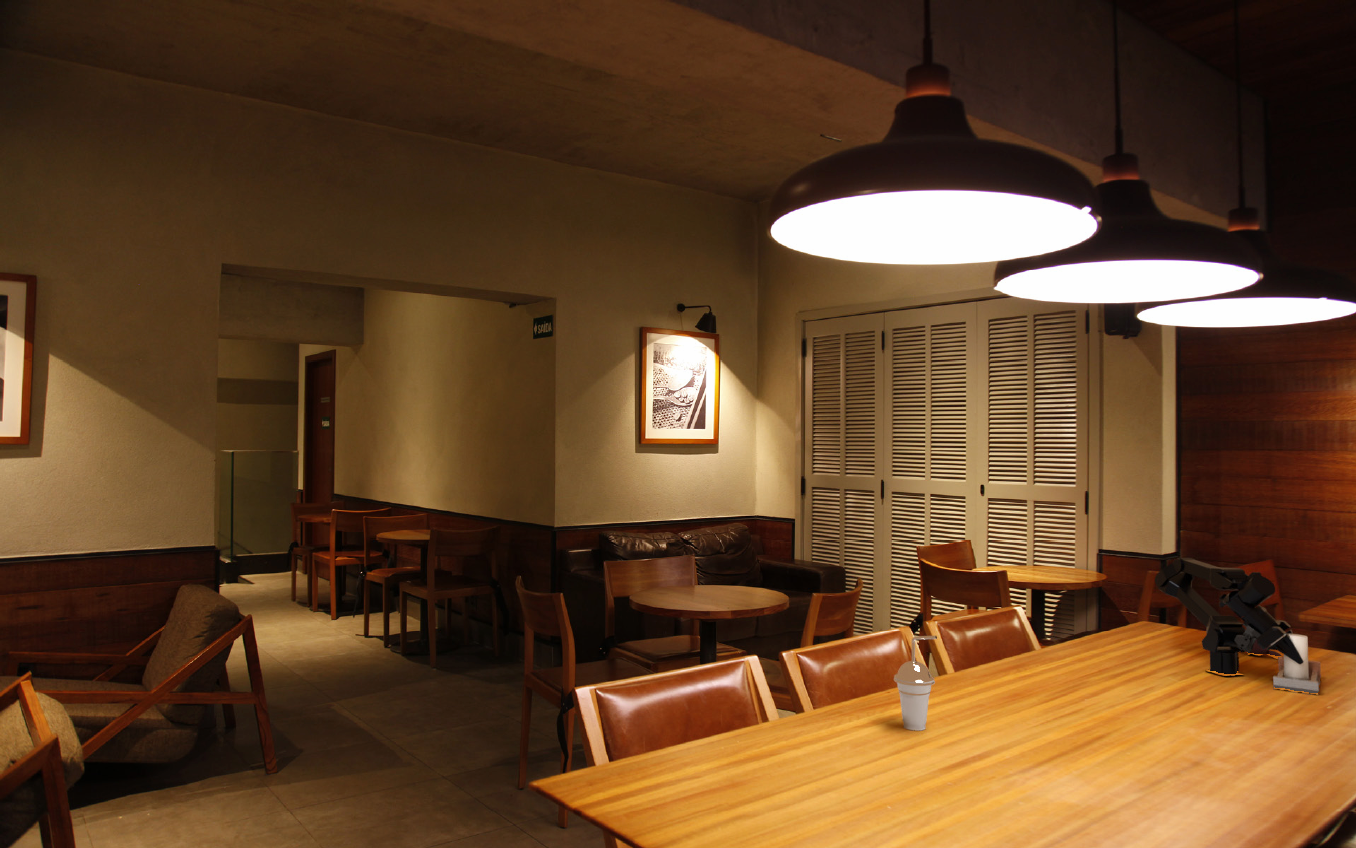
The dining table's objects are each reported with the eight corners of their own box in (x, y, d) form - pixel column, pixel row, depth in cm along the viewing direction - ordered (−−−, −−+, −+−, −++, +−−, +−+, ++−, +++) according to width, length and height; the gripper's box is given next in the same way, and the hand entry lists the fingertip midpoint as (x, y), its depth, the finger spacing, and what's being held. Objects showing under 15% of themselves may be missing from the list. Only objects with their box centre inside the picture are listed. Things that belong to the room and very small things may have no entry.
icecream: (1219, 631, 258) (1274, 644, 245) (1231, 622, 261) (1287, 635, 249) (1220, 652, 259) (1276, 667, 246) (1232, 644, 263) (1288, 658, 250)
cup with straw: (918, 719, 188) (918, 627, 189) (945, 732, 180) (944, 635, 181) (885, 723, 185) (885, 630, 186) (911, 736, 177) (910, 638, 178)
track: (1318, 695, 210) (1317, 676, 210) (1273, 689, 215) (1273, 671, 216) (1320, 678, 226) (1320, 661, 227) (1279, 673, 232) (1278, 656, 232)
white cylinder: (1308, 687, 213) (1307, 638, 213) (1283, 684, 216) (1282, 635, 216) (1309, 683, 217) (1307, 635, 217) (1284, 680, 220) (1283, 632, 220)
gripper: (1229, 626, 234) (1279, 675, 226) (1218, 635, 220) (1271, 687, 212) (1264, 601, 229) (1316, 649, 222) (1255, 607, 215) (1310, 659, 207)
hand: (1302, 661), depth 216 cm, fingers closed on white cylinder, 5 cm apart
